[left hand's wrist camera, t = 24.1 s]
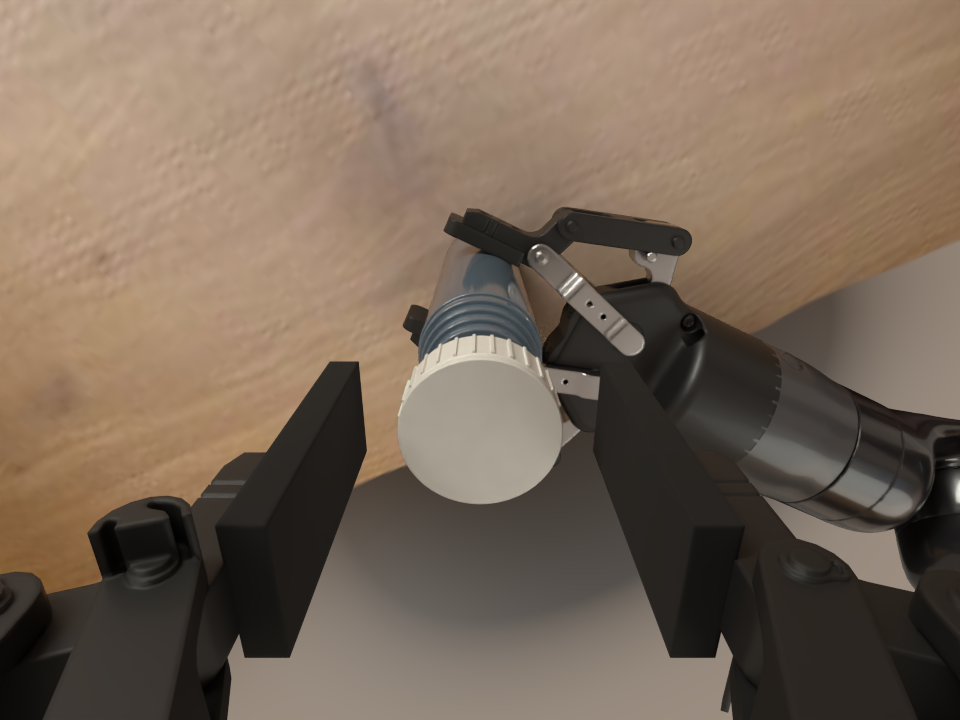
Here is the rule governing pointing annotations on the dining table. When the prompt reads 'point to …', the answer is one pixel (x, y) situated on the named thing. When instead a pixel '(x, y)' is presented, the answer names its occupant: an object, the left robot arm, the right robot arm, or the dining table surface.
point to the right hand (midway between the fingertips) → (428, 270)
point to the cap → (480, 420)
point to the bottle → (479, 302)
